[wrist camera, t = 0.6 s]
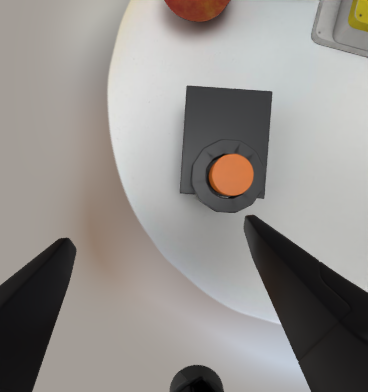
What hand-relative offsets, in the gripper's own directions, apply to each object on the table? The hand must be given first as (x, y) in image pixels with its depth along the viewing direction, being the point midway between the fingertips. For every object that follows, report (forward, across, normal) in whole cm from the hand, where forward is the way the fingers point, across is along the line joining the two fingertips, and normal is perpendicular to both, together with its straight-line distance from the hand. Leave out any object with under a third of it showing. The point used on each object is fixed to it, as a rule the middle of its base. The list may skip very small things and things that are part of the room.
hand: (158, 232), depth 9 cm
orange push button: (+7, -5, +1) cm, 9 cm away
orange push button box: (+14, -6, +2) cm, 16 cm away
